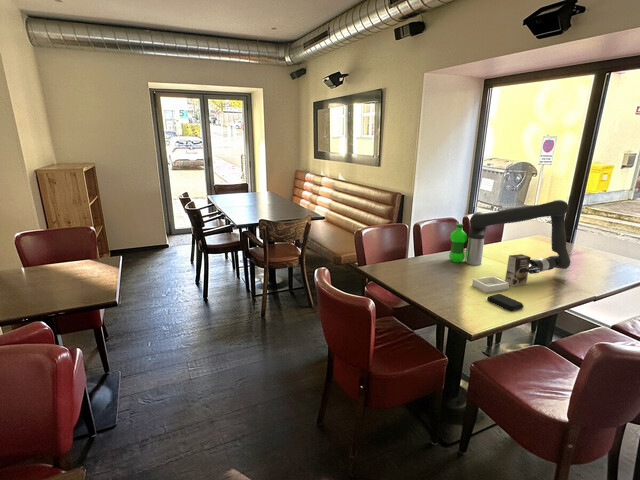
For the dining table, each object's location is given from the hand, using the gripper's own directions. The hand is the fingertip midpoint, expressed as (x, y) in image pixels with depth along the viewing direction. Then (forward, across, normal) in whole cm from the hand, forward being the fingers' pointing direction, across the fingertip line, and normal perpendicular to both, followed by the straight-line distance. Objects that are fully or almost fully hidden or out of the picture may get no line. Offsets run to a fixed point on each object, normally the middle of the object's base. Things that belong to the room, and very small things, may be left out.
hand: (514, 268), depth 192 cm
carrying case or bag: (+24, +18, +10) cm, 31 cm away
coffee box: (-2, 0, +9) cm, 9 cm away
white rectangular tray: (+16, 0, +9) cm, 18 cm away
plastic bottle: (+3, -43, +9) cm, 44 cm away
